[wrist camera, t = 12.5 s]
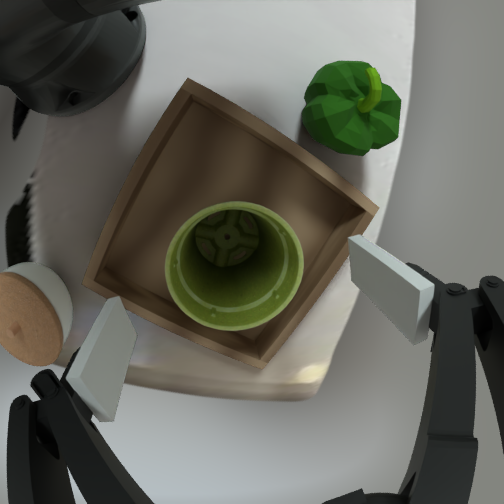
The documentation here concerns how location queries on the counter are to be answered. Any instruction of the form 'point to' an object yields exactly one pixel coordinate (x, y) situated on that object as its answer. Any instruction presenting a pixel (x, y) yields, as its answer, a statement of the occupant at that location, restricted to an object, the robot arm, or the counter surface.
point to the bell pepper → (351, 108)
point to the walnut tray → (213, 192)
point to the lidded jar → (34, 313)
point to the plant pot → (234, 266)
